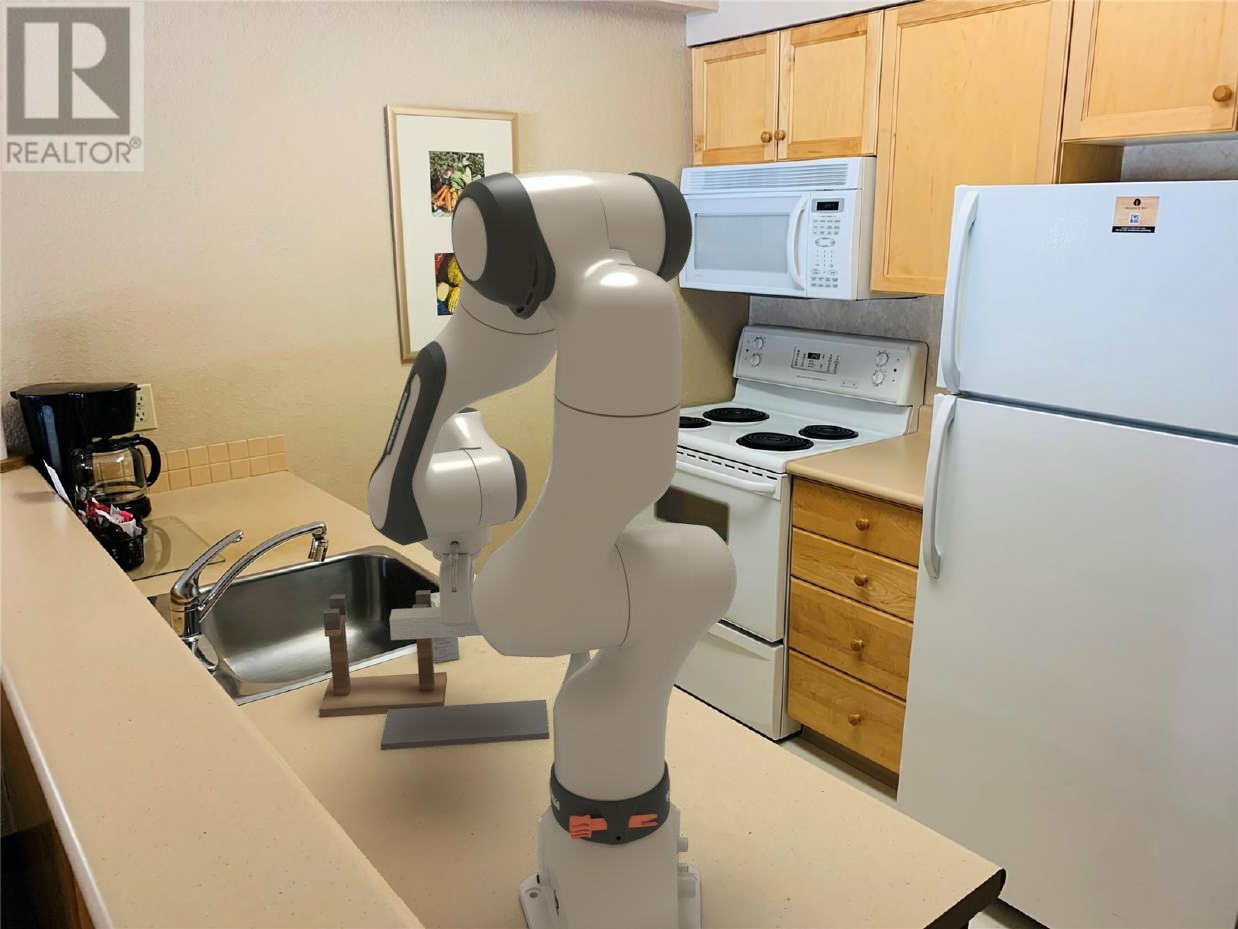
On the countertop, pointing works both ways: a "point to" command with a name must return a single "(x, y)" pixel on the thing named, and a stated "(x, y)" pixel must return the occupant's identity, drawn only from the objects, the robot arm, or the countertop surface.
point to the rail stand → (377, 690)
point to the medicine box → (443, 641)
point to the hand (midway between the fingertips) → (461, 627)
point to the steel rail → (423, 624)
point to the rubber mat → (465, 724)
